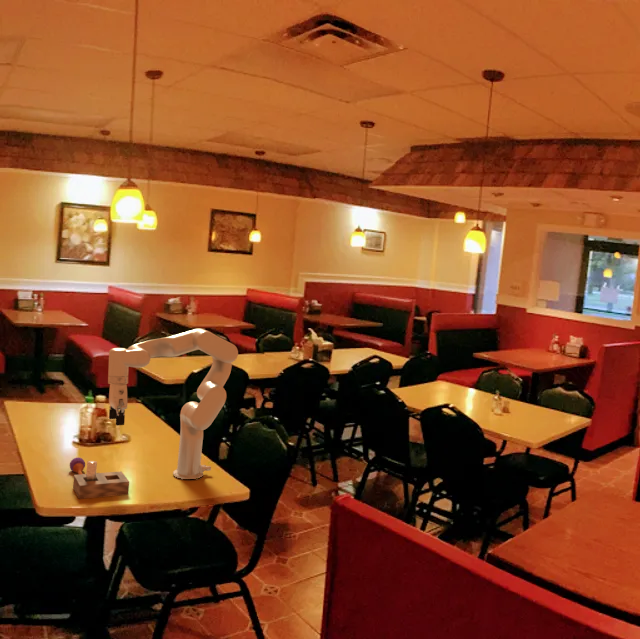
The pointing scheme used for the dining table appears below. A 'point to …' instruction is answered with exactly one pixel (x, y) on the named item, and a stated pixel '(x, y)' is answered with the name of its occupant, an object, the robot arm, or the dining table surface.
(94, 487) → the walnut block
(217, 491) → the dining table surface
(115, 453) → the dining table surface
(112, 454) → the dining table surface
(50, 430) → the dining table surface
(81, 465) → the kendama
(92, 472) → the steel pin
